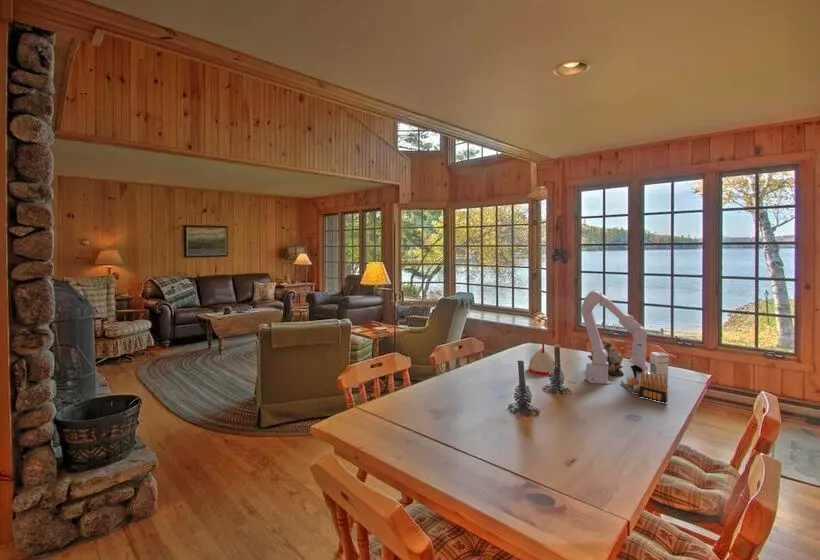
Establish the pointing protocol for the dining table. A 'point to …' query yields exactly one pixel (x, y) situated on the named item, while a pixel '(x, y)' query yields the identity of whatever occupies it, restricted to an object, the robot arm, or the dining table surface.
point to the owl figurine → (612, 359)
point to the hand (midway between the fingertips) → (637, 381)
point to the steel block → (638, 377)
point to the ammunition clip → (653, 387)
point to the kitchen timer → (541, 362)
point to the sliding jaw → (632, 381)
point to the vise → (631, 387)
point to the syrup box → (659, 365)
